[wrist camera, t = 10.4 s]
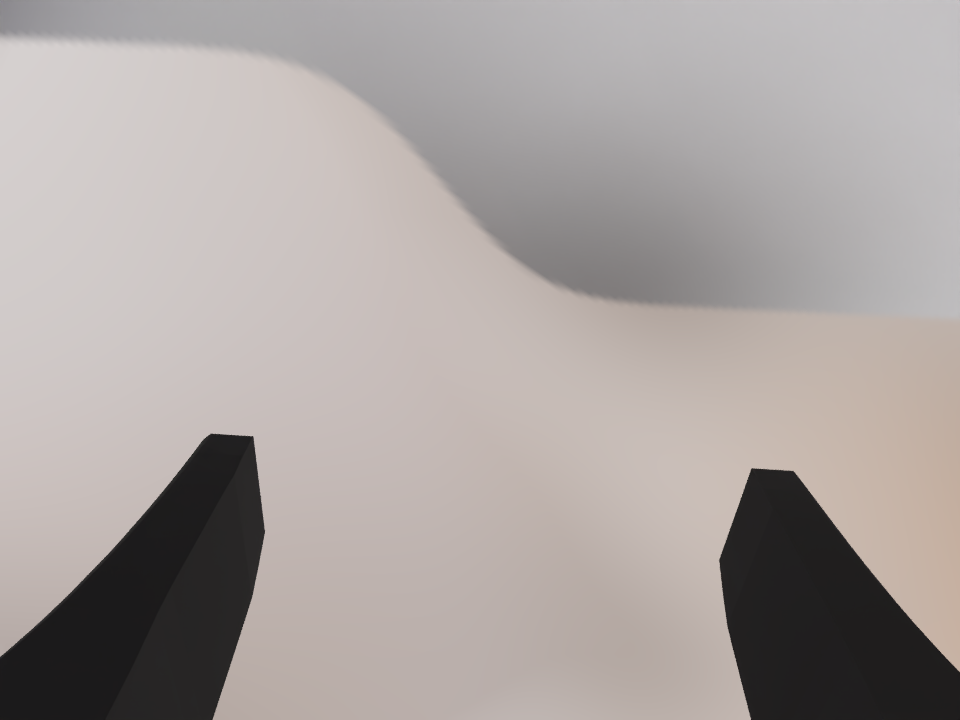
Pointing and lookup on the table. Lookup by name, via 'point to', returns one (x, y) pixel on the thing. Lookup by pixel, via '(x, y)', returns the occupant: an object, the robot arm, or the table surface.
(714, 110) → the table surface
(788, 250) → the table surface
